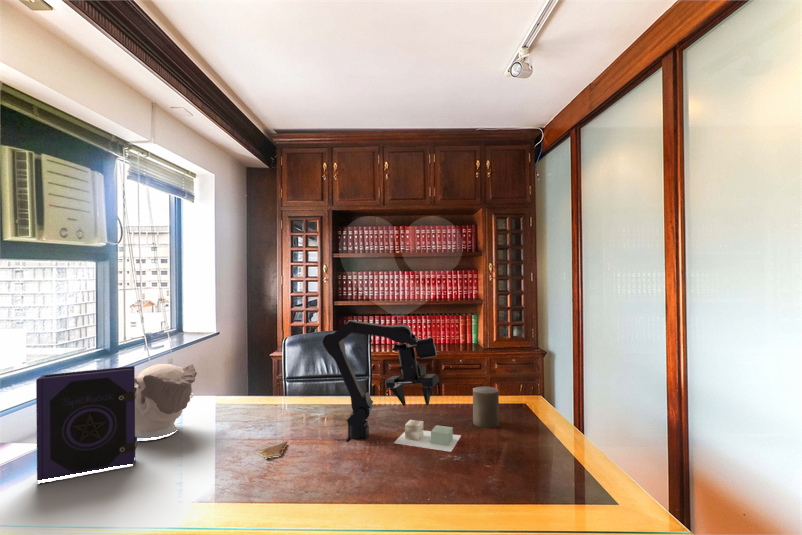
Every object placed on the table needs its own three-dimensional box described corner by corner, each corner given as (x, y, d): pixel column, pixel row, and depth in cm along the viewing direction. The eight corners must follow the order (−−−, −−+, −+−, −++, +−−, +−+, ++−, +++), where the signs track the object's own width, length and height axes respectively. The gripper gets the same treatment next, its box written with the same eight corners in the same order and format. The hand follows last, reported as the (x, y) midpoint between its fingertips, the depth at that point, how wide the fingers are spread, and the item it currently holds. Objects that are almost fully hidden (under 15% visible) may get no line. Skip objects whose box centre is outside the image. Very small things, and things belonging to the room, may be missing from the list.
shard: (287, 445, 145) (287, 440, 145) (299, 452, 140) (299, 446, 140) (257, 455, 137) (257, 450, 137) (268, 463, 132) (268, 457, 132)
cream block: (405, 438, 146) (405, 424, 146) (410, 433, 150) (410, 419, 150) (418, 440, 144) (418, 426, 144) (423, 435, 148) (423, 421, 148)
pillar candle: (497, 431, 154) (497, 390, 154) (470, 428, 157) (470, 388, 157) (500, 422, 163) (500, 384, 163) (475, 420, 166) (474, 382, 166)
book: (36, 486, 118) (35, 379, 119) (43, 476, 124) (42, 374, 124) (135, 467, 129) (134, 369, 129) (137, 459, 135) (136, 365, 135)
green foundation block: (431, 443, 142) (430, 431, 142) (436, 436, 147) (436, 425, 147) (448, 445, 140) (448, 433, 140) (452, 439, 145) (452, 427, 145)
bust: (93, 420, 154) (119, 350, 149) (144, 404, 172) (168, 341, 167) (137, 465, 145) (166, 391, 140) (186, 443, 163) (213, 377, 158)
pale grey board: (393, 445, 142) (393, 442, 142) (408, 430, 155) (408, 428, 155) (451, 454, 135) (451, 451, 135) (461, 438, 148) (461, 435, 148)
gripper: (441, 353, 149) (449, 397, 149) (396, 356, 158) (403, 398, 158) (428, 361, 140) (436, 408, 139) (381, 364, 149) (388, 408, 148)
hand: (416, 405), depth 146 cm, fingers open, 9 cm apart
